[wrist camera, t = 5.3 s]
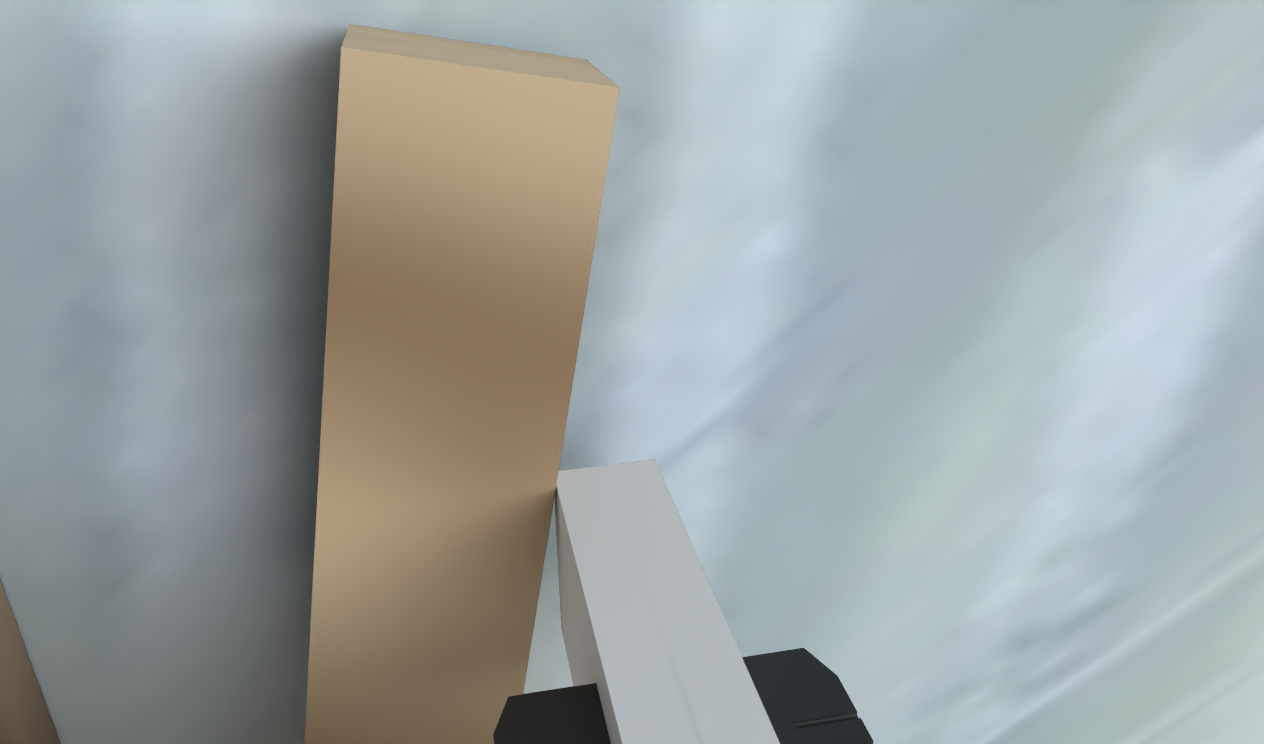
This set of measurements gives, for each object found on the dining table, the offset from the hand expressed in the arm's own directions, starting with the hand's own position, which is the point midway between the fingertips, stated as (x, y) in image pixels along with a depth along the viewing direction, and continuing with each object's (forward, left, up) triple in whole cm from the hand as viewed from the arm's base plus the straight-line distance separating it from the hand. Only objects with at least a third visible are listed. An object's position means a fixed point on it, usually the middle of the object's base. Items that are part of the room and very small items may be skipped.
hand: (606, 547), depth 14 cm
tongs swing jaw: (-4, +3, -2) cm, 6 cm away
